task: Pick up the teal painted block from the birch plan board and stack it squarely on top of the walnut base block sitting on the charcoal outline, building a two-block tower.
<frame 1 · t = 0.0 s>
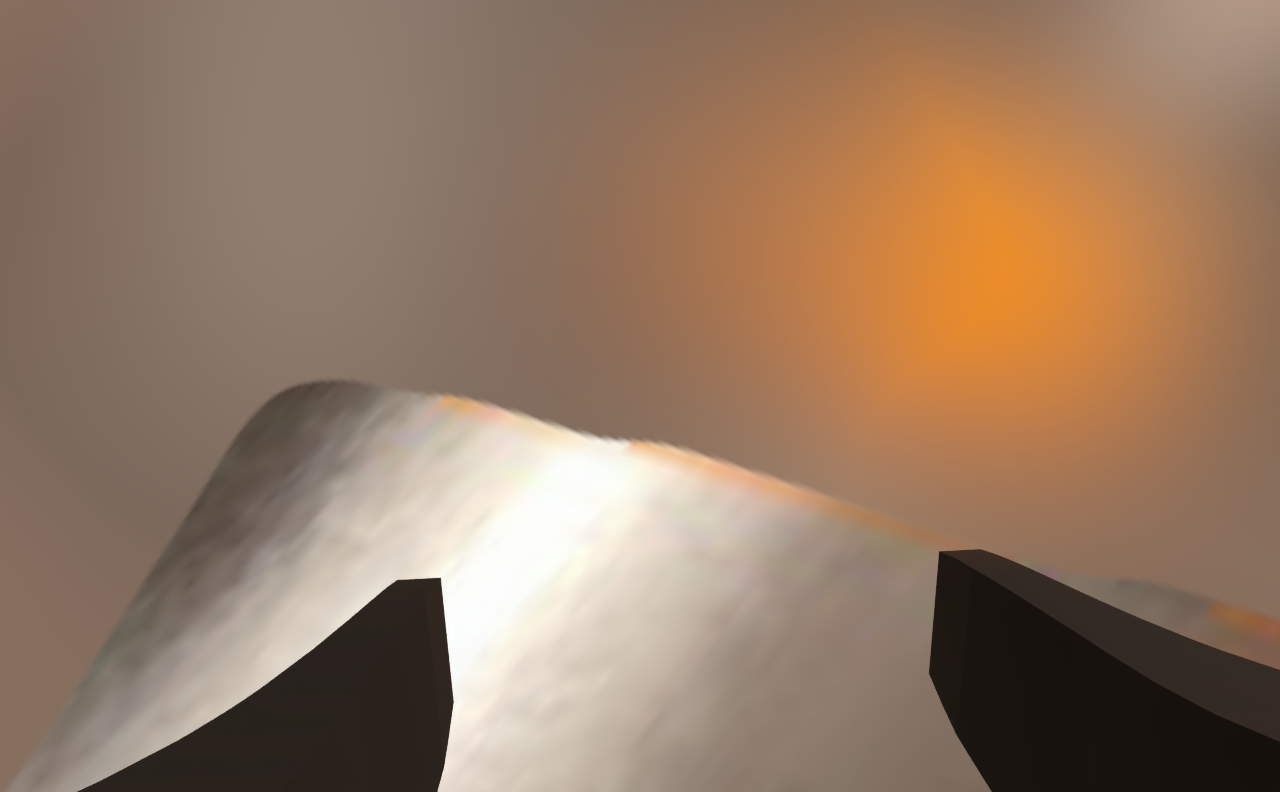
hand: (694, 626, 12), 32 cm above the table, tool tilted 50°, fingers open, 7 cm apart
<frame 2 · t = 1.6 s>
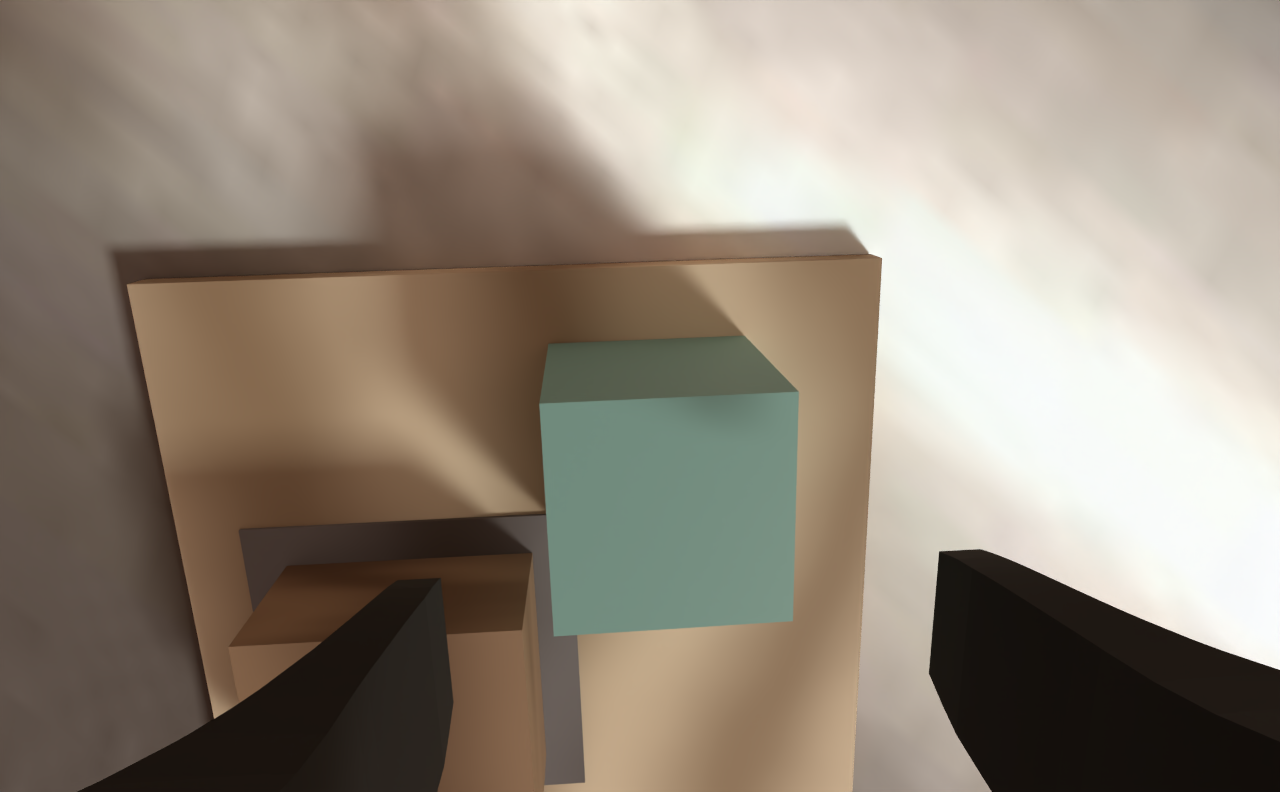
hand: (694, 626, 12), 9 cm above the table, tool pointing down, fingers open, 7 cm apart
teal block: (649, 432, 20), point 1 cm above the table, touching plan board
walnut base block: (422, 664, 21), point 1 cm above the table, touching plan board
plan board: (535, 554, 22), on the table
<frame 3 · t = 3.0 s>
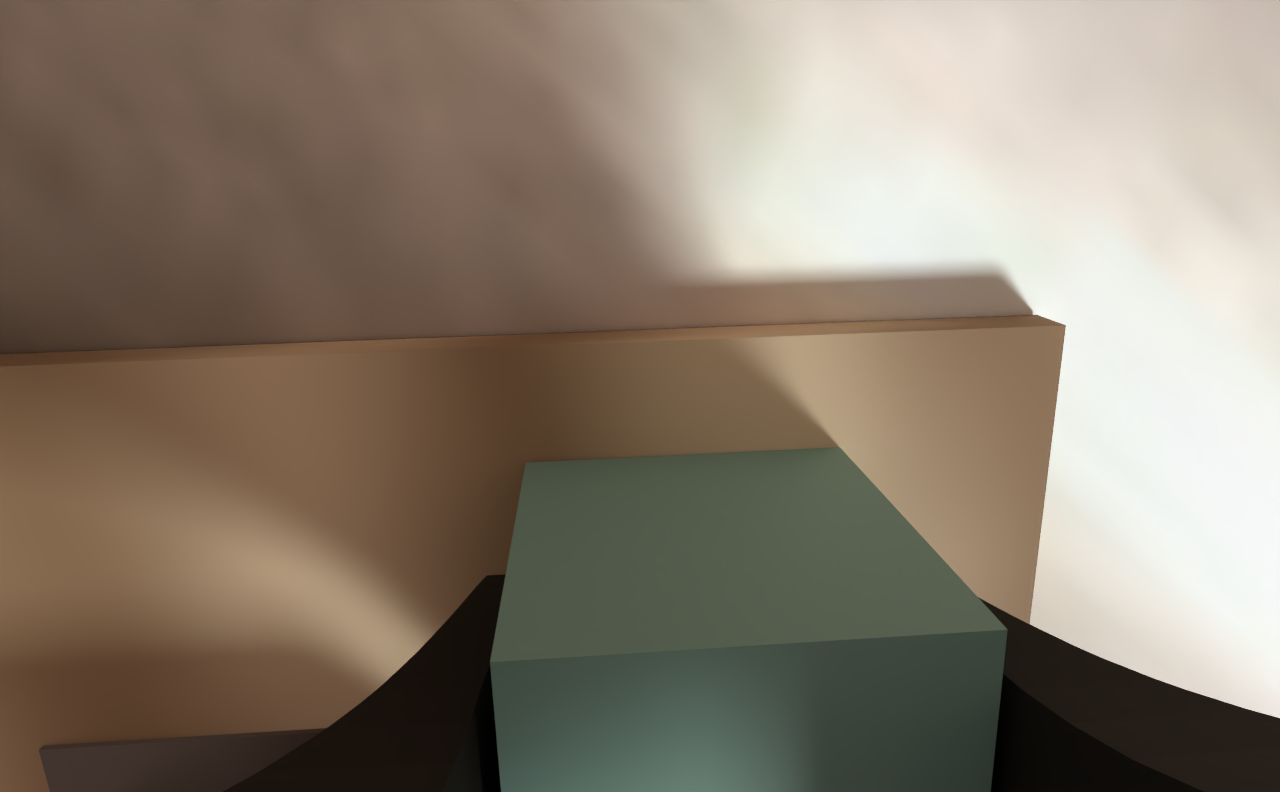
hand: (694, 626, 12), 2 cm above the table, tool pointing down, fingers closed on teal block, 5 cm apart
teal block: (686, 596, 13), point 1 cm above the table, touching gripper, plan board
plan board: (510, 761, 14), on the table
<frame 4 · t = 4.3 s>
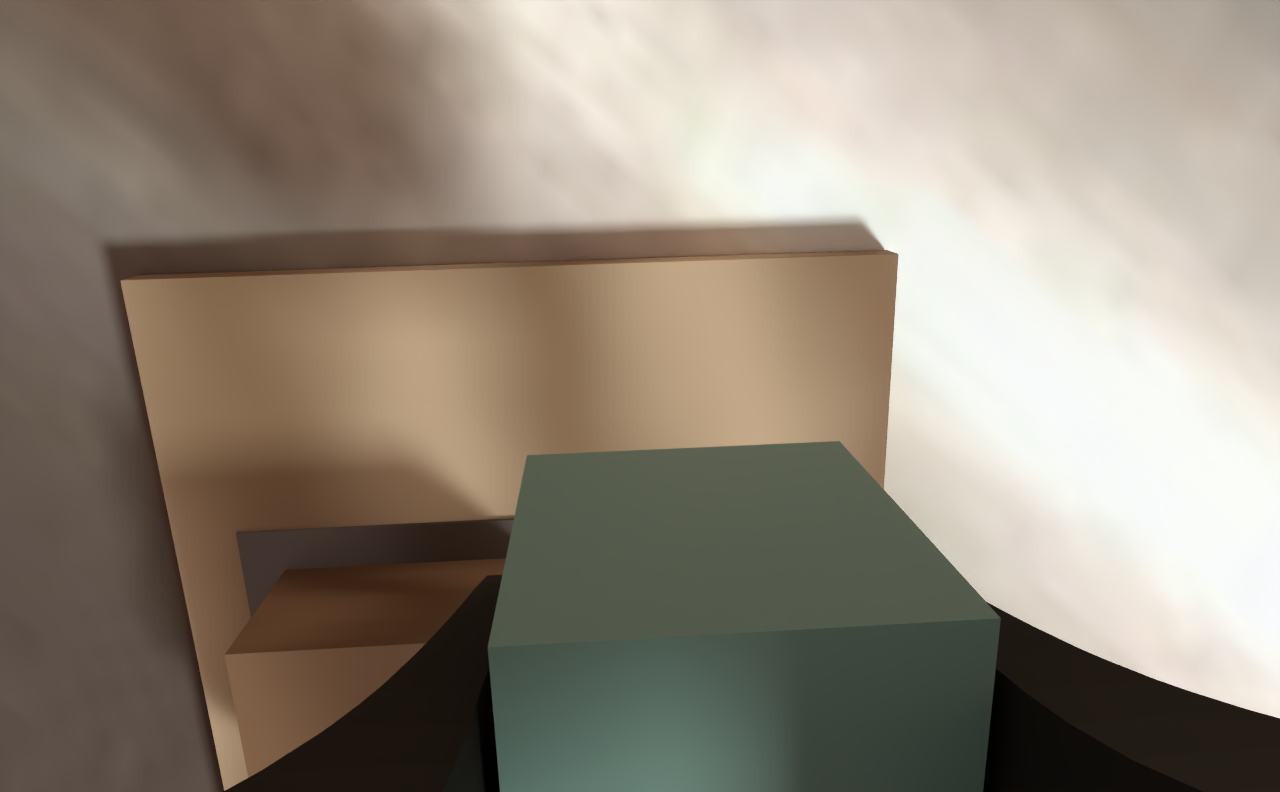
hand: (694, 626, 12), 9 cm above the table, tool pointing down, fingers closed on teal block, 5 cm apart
teal block: (686, 589, 13), point 8 cm above the table, touching gripper
walnut base block: (424, 670, 21), point 1 cm above the table, touching plan board
plan board: (540, 557, 21), on the table
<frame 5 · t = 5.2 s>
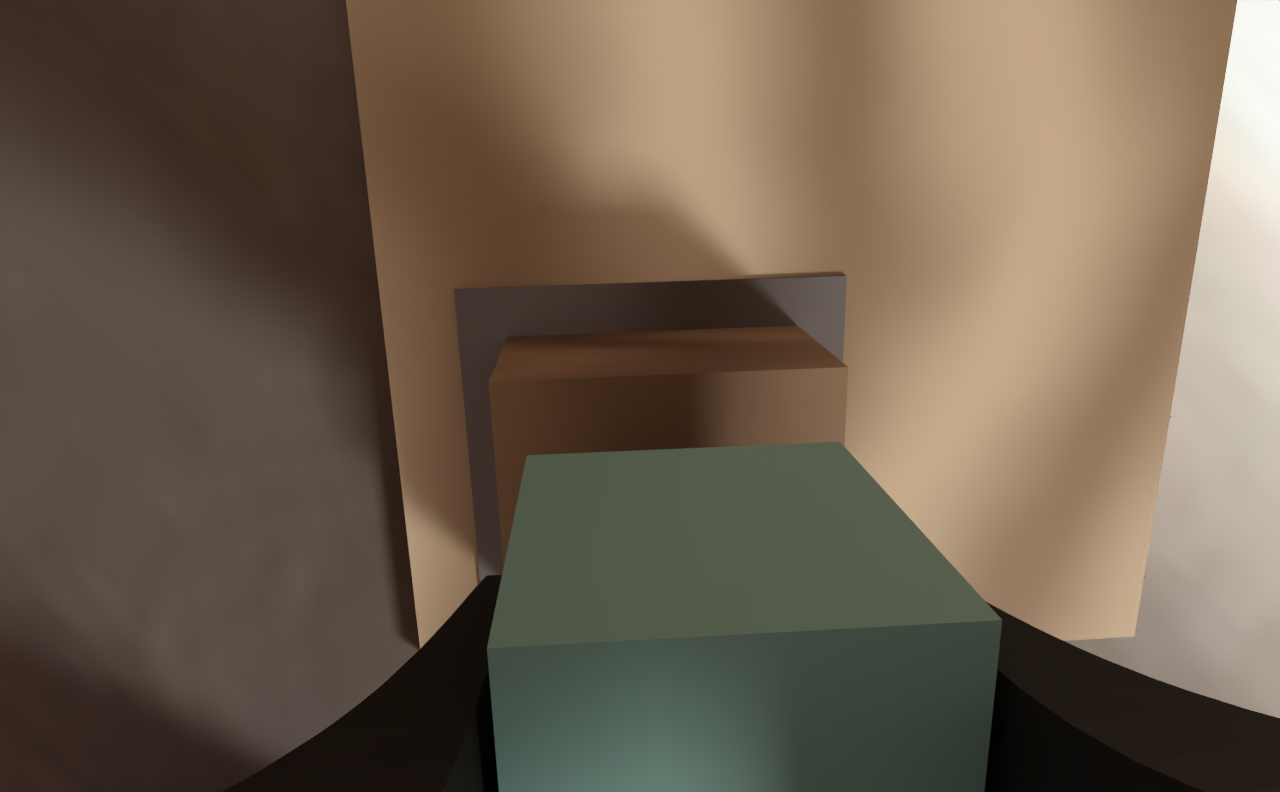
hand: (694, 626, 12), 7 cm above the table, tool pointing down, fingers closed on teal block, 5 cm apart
teal block: (686, 590, 13), point 6 cm above the table, touching gripper
walnut base block: (656, 466, 18), point 1 cm above the table, touching plan board
plan board: (786, 339, 18), on the table
when the fingers open (6 cm above the table, at t = 5.9 s): teal block stays where it is, resting on walnut base block.
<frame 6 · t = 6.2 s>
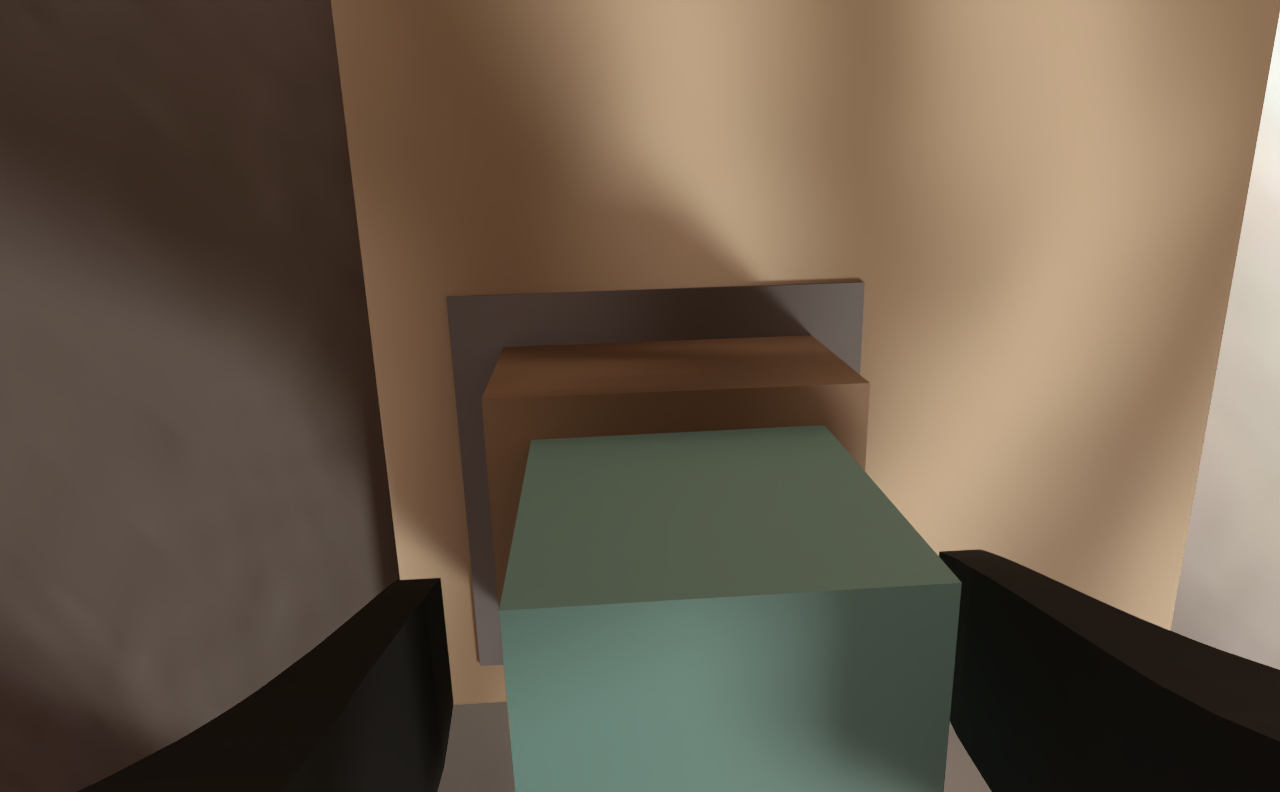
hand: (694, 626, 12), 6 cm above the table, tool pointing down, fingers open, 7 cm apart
teal block: (681, 565, 14), point 4 cm above the table, touching walnut base block
walnut base block: (661, 484, 17), point 1 cm above the table, touching plan board, teal block
plan board: (799, 349, 17), on the table
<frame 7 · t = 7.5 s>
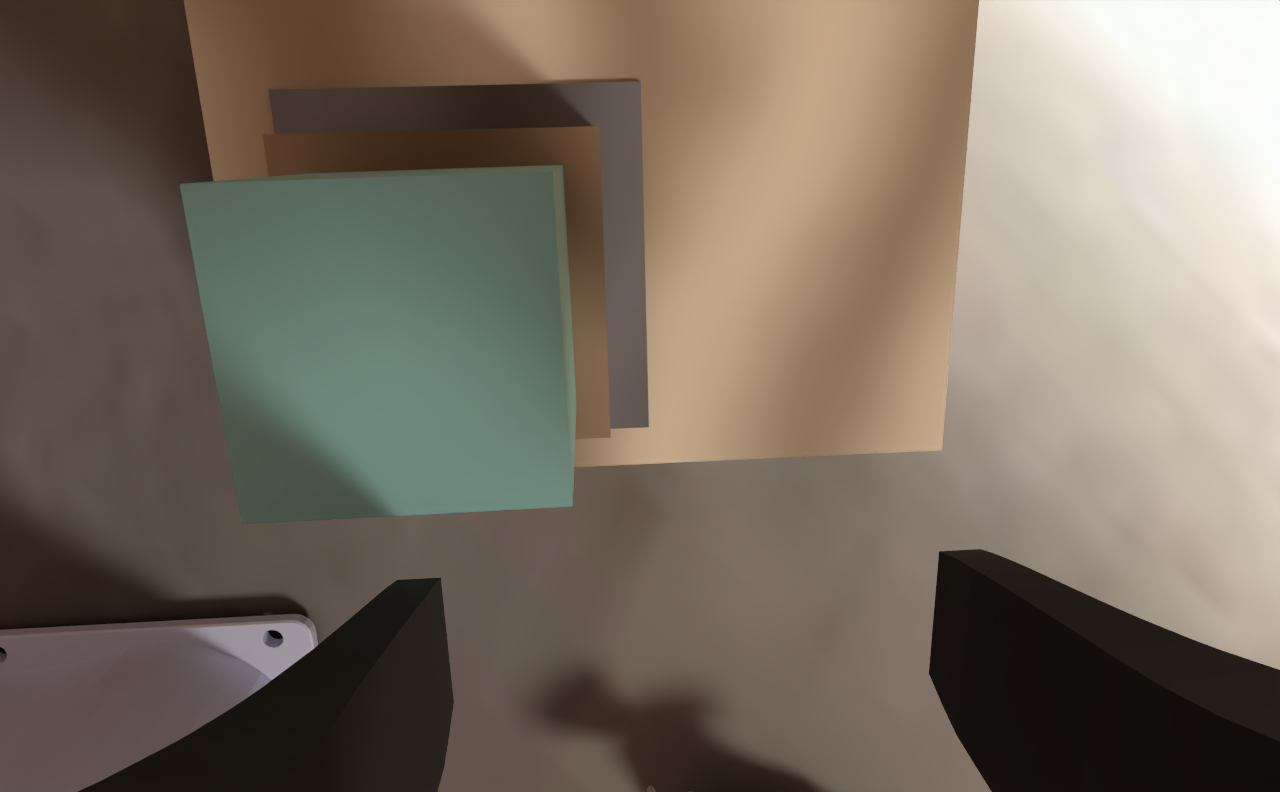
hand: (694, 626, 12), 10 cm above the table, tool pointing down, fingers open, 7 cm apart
teal block: (448, 294, 16), point 4 cm above the table, touching walnut base block
walnut base block: (471, 270, 19), point 1 cm above the table, touching plan board, teal block
plan board: (597, 153, 20), on the table
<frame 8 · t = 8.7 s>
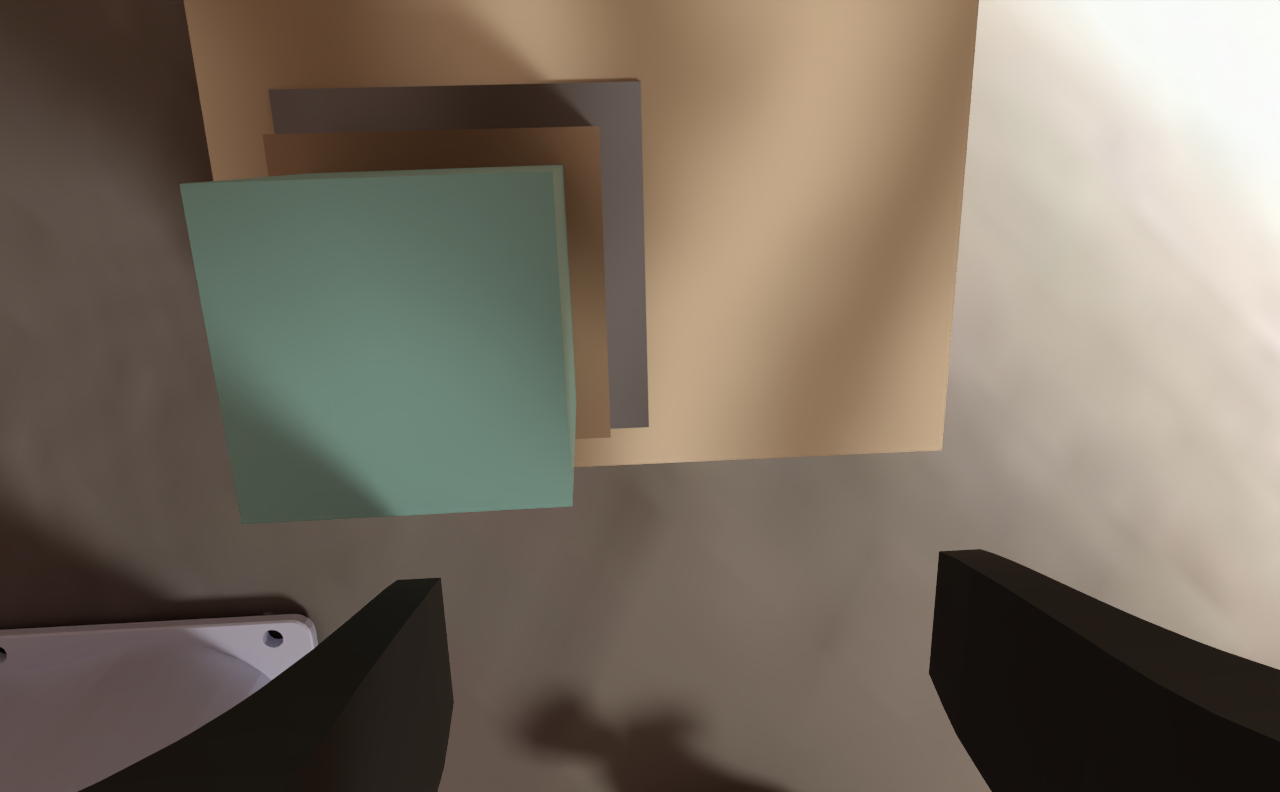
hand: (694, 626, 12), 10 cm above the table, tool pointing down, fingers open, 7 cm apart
teal block: (448, 294, 16), point 4 cm above the table, touching walnut base block
walnut base block: (471, 270, 19), point 1 cm above the table, touching plan board, teal block
plan board: (597, 153, 20), on the table
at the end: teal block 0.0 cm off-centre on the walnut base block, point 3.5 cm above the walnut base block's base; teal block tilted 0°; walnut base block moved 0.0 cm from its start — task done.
